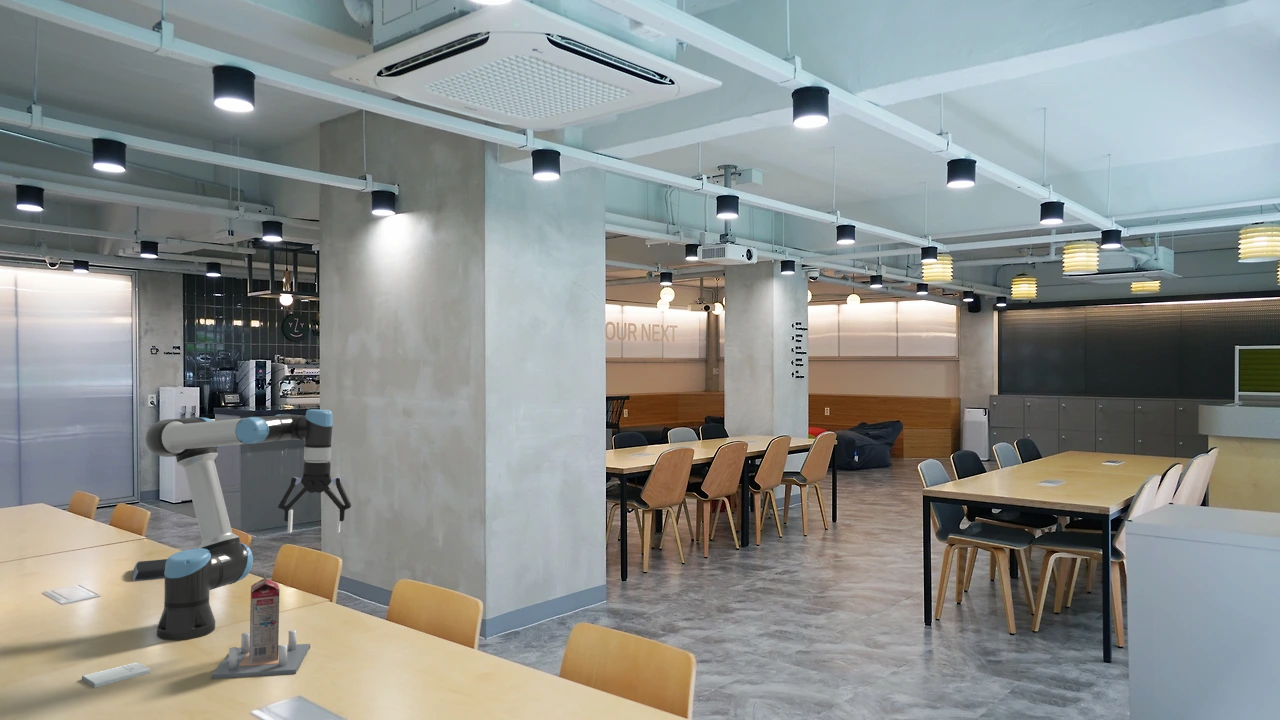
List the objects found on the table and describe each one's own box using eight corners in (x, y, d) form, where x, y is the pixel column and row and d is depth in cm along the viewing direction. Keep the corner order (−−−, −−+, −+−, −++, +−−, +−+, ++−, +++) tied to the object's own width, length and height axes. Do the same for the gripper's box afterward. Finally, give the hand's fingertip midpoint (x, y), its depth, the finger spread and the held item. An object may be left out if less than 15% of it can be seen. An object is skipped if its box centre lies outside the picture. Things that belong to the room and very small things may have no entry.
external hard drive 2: (81, 681, 201) (136, 667, 211) (94, 689, 196) (150, 674, 206) (81, 675, 201) (136, 661, 211) (94, 683, 196) (150, 668, 206)
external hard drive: (130, 583, 292) (131, 571, 292) (133, 571, 309) (133, 560, 309) (172, 578, 299) (172, 567, 299) (172, 567, 315) (172, 557, 315)
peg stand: (211, 678, 203) (211, 654, 203) (233, 651, 222) (233, 629, 223) (295, 673, 207) (296, 650, 207) (310, 647, 227) (310, 625, 227)
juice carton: (250, 663, 210) (252, 579, 211) (249, 655, 216) (251, 573, 217) (277, 659, 214) (279, 576, 214) (276, 651, 219) (278, 571, 220)
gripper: (362, 460, 247) (359, 529, 247) (275, 459, 242) (272, 529, 241) (359, 463, 240) (356, 534, 239) (269, 461, 234) (266, 534, 234)
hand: (314, 532), depth 240 cm, fingers open, 13 cm apart
